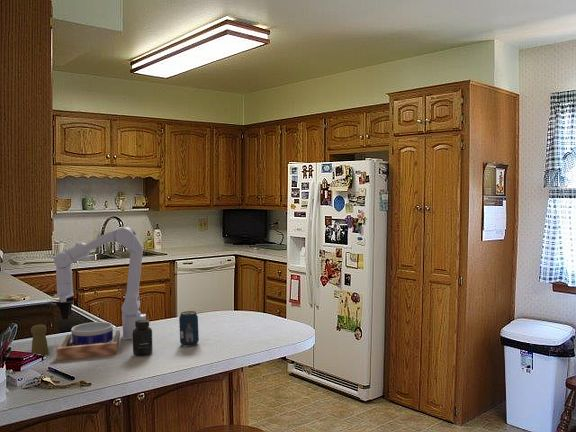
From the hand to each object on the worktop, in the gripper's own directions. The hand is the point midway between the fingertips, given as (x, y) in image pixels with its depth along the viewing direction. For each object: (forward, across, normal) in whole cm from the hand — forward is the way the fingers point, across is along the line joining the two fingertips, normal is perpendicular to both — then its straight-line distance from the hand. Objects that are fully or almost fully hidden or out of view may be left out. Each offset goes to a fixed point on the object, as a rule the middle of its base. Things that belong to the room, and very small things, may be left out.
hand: (66, 317), depth 217 cm
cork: (+10, +17, -8) cm, 21 cm away
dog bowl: (+10, +4, +10) cm, 14 cm away
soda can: (+10, +22, +46) cm, 52 cm away
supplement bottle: (+10, +29, +28) cm, 42 cm away
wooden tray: (+10, +12, +10) cm, 18 cm away
